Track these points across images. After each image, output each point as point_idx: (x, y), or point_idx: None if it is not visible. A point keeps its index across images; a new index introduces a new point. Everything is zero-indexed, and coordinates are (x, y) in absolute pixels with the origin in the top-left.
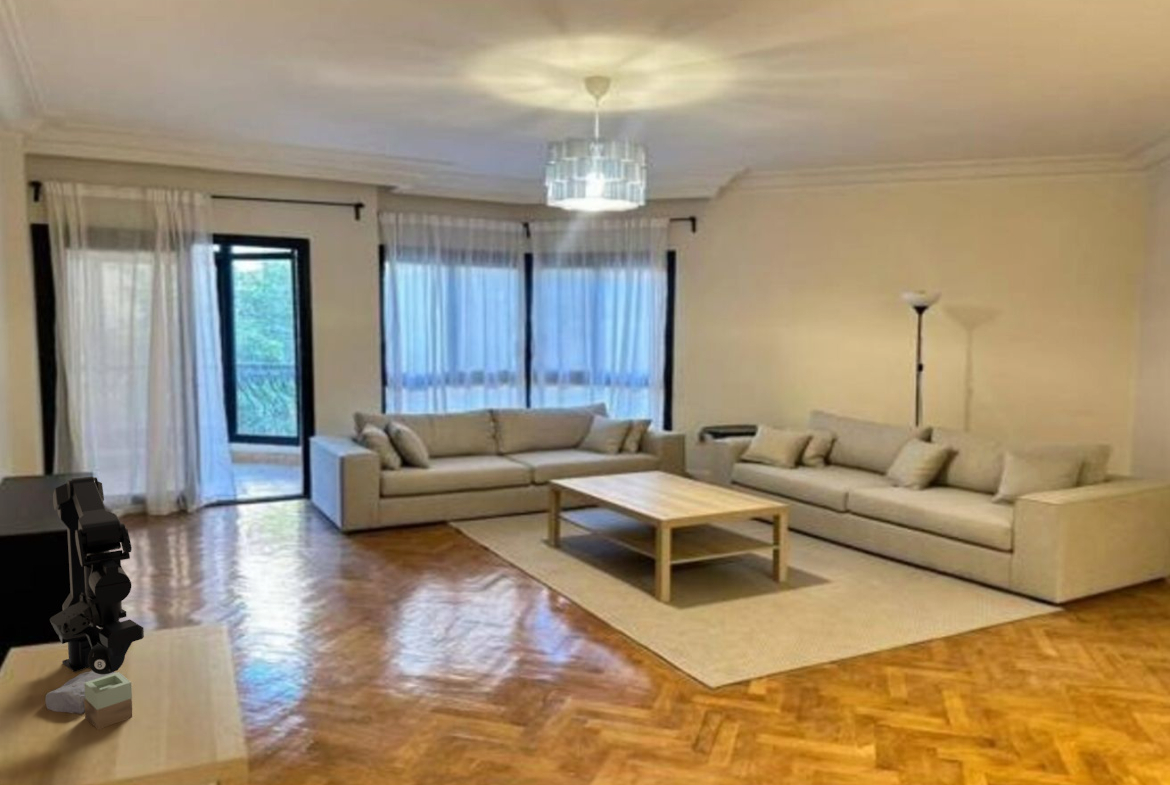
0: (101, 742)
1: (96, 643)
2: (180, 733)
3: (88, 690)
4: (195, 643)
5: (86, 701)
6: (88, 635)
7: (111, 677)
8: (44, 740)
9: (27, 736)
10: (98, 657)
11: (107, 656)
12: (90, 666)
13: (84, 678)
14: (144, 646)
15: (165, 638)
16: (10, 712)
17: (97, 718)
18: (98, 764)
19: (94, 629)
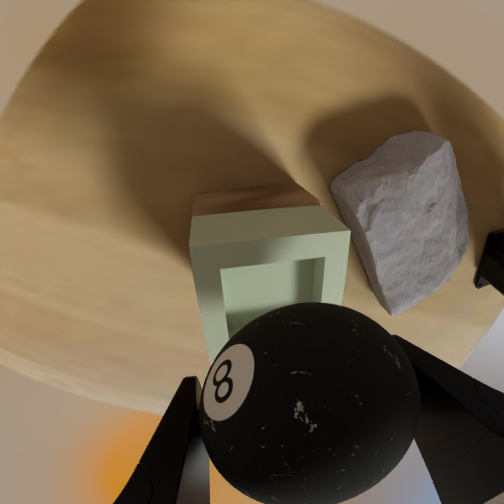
0: (108, 186)
1: (441, 412)
2: (68, 334)
3: (294, 226)
4: None
5: (298, 202)
6: (501, 434)
7: None
8: (237, 56)
9: (299, 32)
10: (243, 427)
11: (177, 465)
12: (291, 322)
13: (445, 240)
14: (461, 339)
15: (452, 362)
16: (445, 71)
17: (194, 205)
18: (14, 164)
19: (493, 473)
